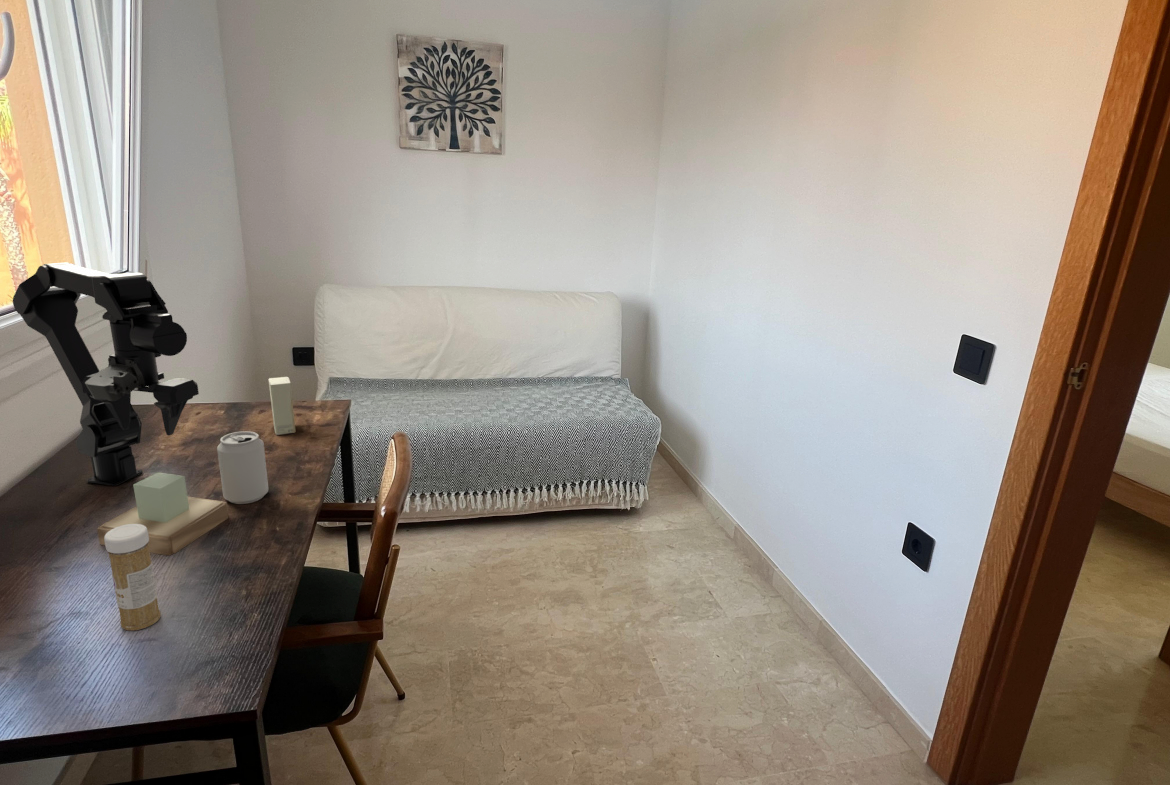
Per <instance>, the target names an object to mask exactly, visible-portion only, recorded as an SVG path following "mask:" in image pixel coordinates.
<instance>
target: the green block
mask: <svg viewBox="0 0 1170 785" xmlns="http://www.w3.org/2000/svg"><path fill="white" fill-rule="evenodd" d="M132 486H133V491H134V496H135V498H134V499H135V504H136V506H137V510H138V516H139V519H146V520H152V521H158V522H165V523H166V522H168V521H169V520H171V519H173V518H174V517H176V516H178V515H180V514H181V513H183V512H185V511H186V510H188V509H189V503H188V491H187V484H186V476H185V475H180V474H172V473H165V472H159V471H158V472H155V473H154V474H152V475H150V476H148V477H146V478H144V479H142V480H140V481H138V482H136V483H134V484H133V485H132Z"/></svg>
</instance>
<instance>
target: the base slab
mask: <svg viewBox="0 0 1170 785" xmlns="http://www.w3.org/2000/svg"><path fill="white" fill-rule="evenodd" d="M187 496H188V495H187ZM188 503H189V509H188V510H186V511H185V512H183V513H181V514H180V515H178V516H176V517H174V518H173V519H171V520H169V521H168V522H166V523H165V522H158V521H152V520H146V519H139V516H138V510H137V505H136V506H135V507H132V508H130V509H128V510H126V511H125V512H123V513H121V514H119V515H118V516H116V517H114V518H112V519H110V520H108V521H107V522H104V523H103V524H100V525H99V526H98V527H97V528H96V531H97V537H98V542H99V545H102V546H105V541H104V537H105V535H106V533H107V532H109V531H110V530H112V529H114V528H116V527H119V526H122V525H127V524H141V525H144V526H146V528H147V531H148V536H149V544H148V545H149V552H150V554H157V555H162V556H163V555H164V556H167V557H168V556H169V557H170V556H171V555H173V554H174V555H175V554H177V553H178V552H180V551H181V550H183V549H184V548H185V547H188V545H190V544H191V543H193V542H194V541H196V540H198V539H199V538H200V537H202V536H203V535H205V534H207V533H208V532H210V531H211V530H213V529H214V528H216V527H218V525H221V524H222V523H223V522H225V521H226V520H228V518H229V516H230V515H229V510H228V509H229V508H228V501H222V500H215V499H208V498H202V497H195V496H194V497H193V496H188Z"/></svg>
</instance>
